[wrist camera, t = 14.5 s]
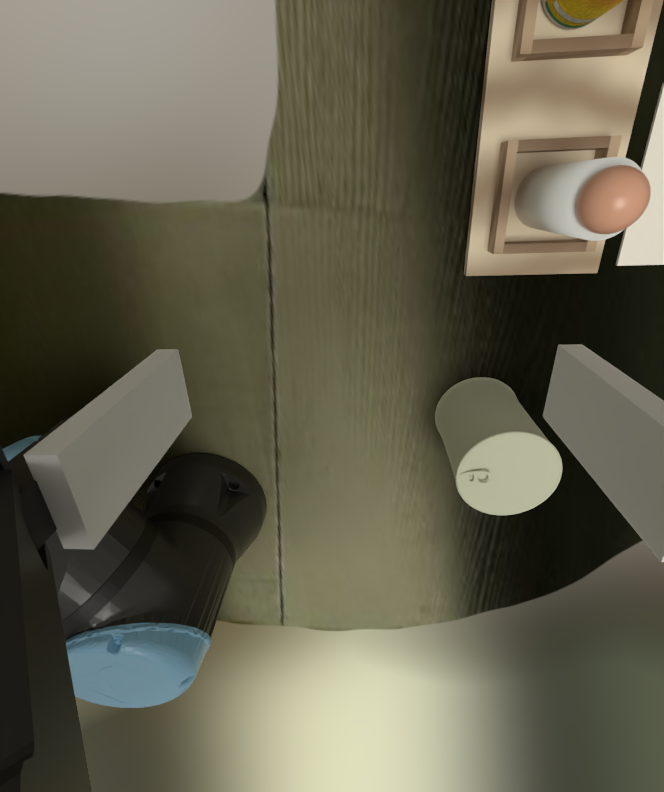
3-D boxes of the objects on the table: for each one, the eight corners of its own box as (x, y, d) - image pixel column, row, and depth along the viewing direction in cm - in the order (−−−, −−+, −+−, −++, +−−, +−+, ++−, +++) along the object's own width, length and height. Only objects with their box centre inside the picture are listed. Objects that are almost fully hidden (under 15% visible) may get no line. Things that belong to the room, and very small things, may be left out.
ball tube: (510, 229, 38) (576, 246, 26) (519, 166, 35) (596, 155, 24) (567, 227, 37) (660, 244, 26) (580, 164, 35) (688, 151, 24)
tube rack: (592, 271, 40) (608, 277, 37) (463, 274, 40) (471, 280, 38) (690, -146, 28) (725, -182, 25) (505, -130, 28) (520, -163, 26)
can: (436, 377, 45) (460, 435, 35) (523, 374, 45) (575, 433, 34) (432, 448, 49) (453, 520, 39) (512, 447, 49) (556, 519, 38)
